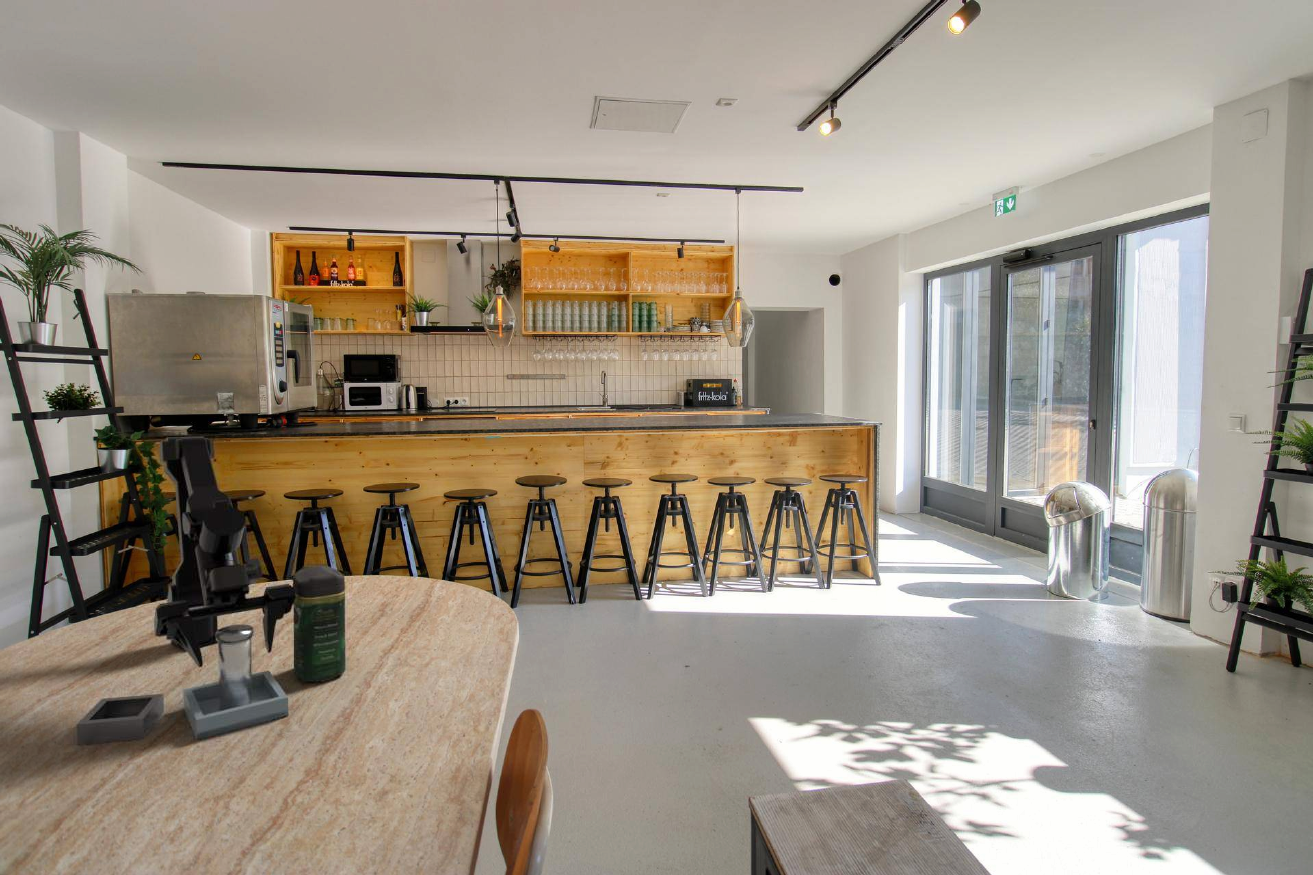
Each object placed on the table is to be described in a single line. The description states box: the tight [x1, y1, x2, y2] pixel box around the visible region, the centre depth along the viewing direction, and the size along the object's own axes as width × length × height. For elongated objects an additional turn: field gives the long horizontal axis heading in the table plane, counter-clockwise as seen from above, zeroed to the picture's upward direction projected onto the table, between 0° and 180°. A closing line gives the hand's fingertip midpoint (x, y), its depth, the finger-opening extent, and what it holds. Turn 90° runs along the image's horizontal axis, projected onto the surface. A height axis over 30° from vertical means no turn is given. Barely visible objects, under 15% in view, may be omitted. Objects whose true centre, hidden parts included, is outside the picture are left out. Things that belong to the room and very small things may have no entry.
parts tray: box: [182, 670, 289, 741], centre depth 113 cm, size 12×12×3 cm
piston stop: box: [216, 624, 254, 711], centre depth 112 cm, size 5×5×12 cm
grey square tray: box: [76, 693, 165, 746], centre depth 107 cm, size 8×8×3 cm
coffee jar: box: [292, 564, 347, 682], centre depth 127 cm, size 10×8×19 cm
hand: (236, 658), depth 111 cm, fingers open, 9 cm apart
